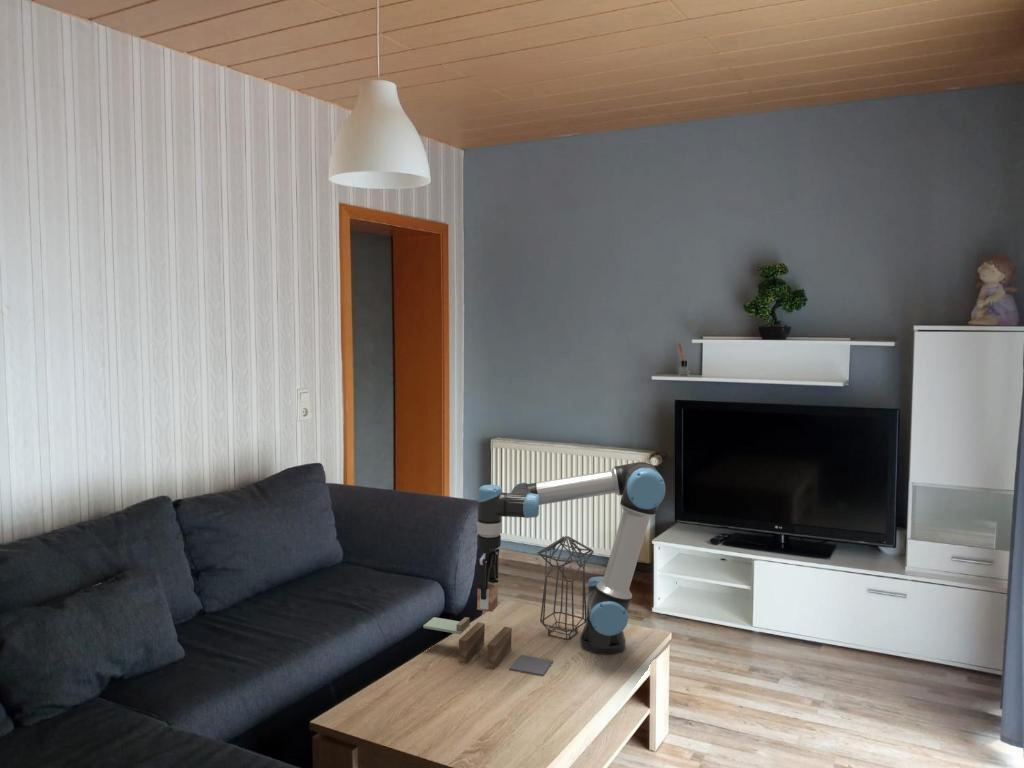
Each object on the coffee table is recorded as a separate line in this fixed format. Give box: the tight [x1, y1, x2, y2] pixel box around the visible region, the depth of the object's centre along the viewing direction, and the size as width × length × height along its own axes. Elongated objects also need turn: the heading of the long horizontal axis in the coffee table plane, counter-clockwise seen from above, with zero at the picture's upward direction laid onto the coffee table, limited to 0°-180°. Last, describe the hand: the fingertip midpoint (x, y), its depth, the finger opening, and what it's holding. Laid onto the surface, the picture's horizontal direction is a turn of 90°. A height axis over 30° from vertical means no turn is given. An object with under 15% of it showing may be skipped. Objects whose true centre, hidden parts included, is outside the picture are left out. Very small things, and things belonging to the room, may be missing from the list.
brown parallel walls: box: [457, 621, 513, 670], centre depth 263 cm, size 12×16×8 cm
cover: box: [422, 616, 471, 635], centre depth 267 cm, size 13×8×3 cm, turn 71°
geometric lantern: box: [536, 535, 595, 640], centre depth 282 cm, size 16×16×35 cm
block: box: [476, 584, 499, 613], centre depth 262 cm, size 5×5×7 cm
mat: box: [508, 654, 554, 677], centre depth 257 cm, size 11×11×1 cm
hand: (487, 605), depth 262 cm, fingers closed on block, 5 cm apart
